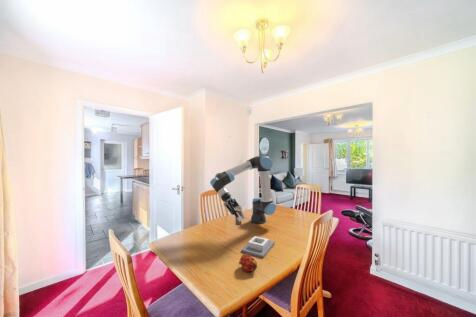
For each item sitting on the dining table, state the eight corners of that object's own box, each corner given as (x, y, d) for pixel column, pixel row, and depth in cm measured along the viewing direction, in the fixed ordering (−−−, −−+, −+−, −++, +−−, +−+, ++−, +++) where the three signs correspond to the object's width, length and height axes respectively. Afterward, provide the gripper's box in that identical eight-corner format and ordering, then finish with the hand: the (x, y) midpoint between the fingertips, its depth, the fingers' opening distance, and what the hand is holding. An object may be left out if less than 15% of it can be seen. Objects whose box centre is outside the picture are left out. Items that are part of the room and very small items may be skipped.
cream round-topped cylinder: (237, 222, 140) (237, 205, 140) (242, 223, 138) (242, 206, 138) (234, 224, 137) (234, 207, 136) (239, 225, 134) (239, 207, 134)
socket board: (254, 239, 143) (254, 232, 143) (274, 243, 135) (274, 237, 135) (241, 251, 124) (241, 244, 124) (263, 258, 116) (263, 250, 116)
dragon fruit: (240, 266, 110) (256, 278, 102) (233, 263, 105) (248, 276, 96) (247, 252, 113) (263, 263, 105) (240, 249, 107) (256, 260, 99)
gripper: (227, 195, 153) (245, 219, 144) (214, 199, 138) (233, 226, 129) (233, 189, 150) (251, 213, 141) (220, 193, 135) (240, 220, 127)
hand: (242, 219), depth 135 cm, fingers closed on cream round-topped cylinder, 4 cm apart
